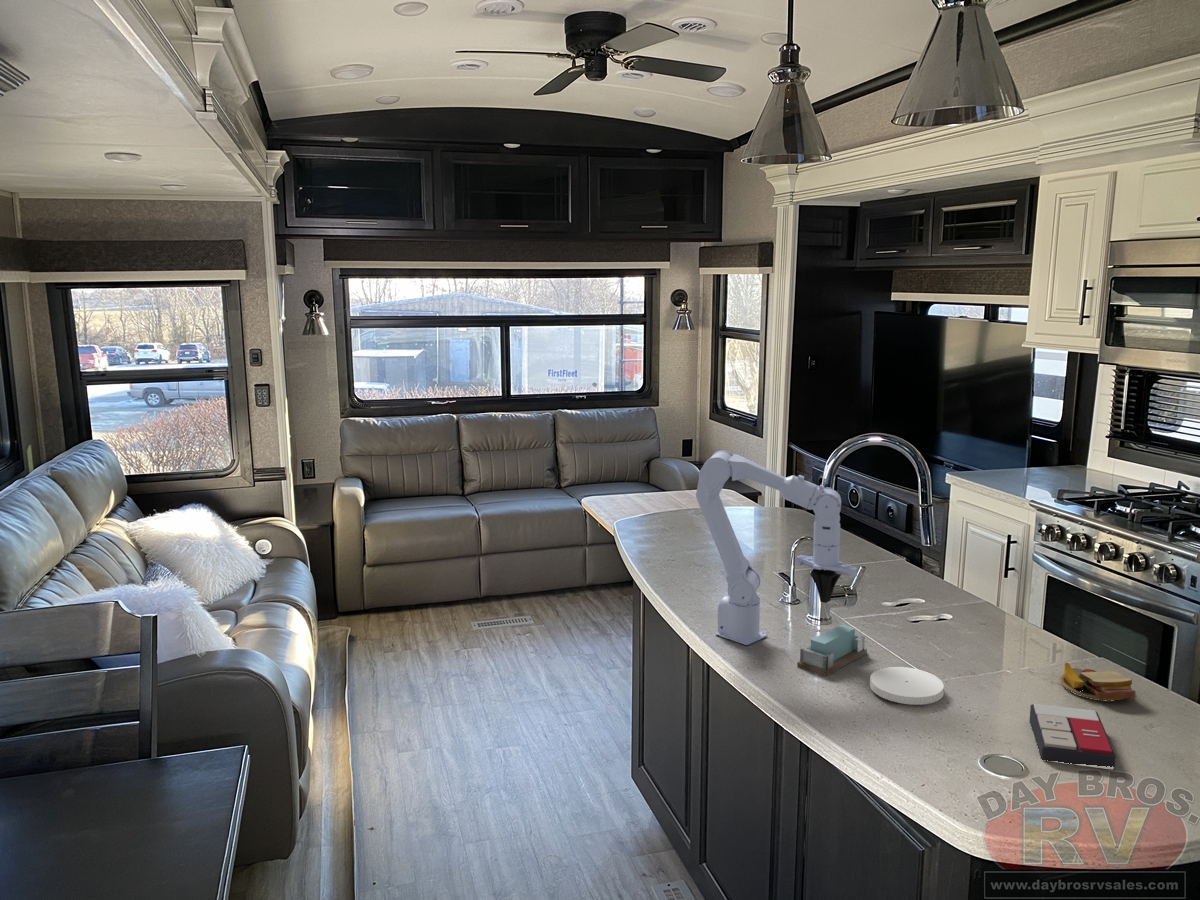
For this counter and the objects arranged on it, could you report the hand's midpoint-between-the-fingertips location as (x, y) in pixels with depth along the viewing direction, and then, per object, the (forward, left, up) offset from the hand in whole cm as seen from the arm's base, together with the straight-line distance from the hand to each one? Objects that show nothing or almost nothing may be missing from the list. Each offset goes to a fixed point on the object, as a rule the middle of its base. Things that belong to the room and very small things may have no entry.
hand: (825, 601), depth 199 cm
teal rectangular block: (+6, -6, -9) cm, 13 cm away
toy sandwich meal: (+52, +18, -11) cm, 56 cm away
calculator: (+55, -8, -11) cm, 57 cm away
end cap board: (+6, -6, -10) cm, 13 cm away
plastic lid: (+25, -9, -11) cm, 29 cm away
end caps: (+6, -6, -10) cm, 13 cm away
